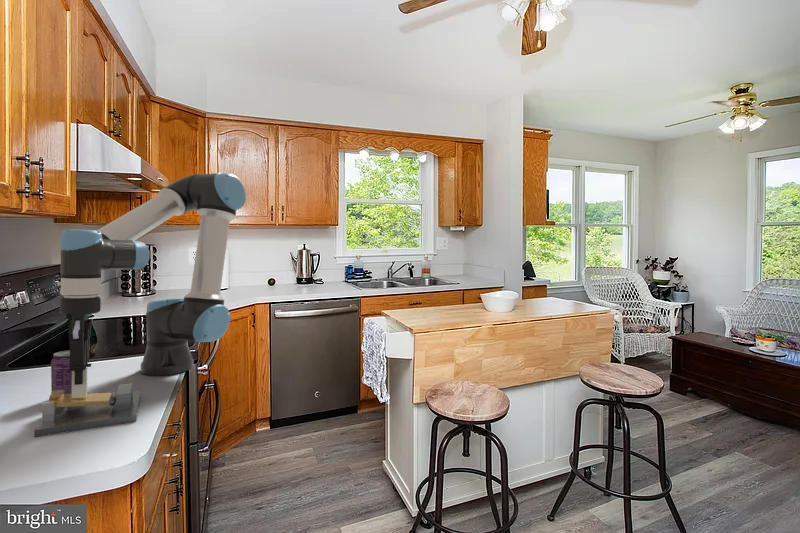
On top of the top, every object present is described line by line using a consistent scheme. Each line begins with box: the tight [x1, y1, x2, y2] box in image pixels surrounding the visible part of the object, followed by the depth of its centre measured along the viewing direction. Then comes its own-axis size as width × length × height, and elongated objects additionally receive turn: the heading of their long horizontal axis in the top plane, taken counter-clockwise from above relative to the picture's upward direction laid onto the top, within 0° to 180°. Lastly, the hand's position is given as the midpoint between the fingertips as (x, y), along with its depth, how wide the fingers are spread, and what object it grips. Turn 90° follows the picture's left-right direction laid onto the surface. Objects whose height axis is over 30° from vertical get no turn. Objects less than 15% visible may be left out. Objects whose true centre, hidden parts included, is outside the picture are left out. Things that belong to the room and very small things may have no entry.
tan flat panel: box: [48, 391, 117, 407], centre depth 99 cm, size 7×13×2 cm, turn 119°
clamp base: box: [33, 382, 141, 438], centre depth 100 cm, size 18×18×6 cm
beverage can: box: [50, 349, 72, 394], centre depth 110 cm, size 7×7×12 cm
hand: (79, 396), depth 98 cm, fingers closed
